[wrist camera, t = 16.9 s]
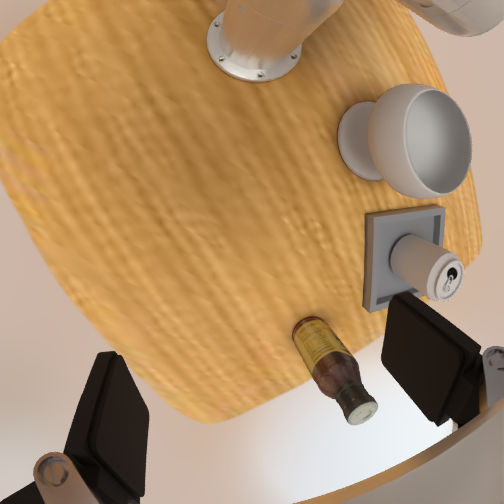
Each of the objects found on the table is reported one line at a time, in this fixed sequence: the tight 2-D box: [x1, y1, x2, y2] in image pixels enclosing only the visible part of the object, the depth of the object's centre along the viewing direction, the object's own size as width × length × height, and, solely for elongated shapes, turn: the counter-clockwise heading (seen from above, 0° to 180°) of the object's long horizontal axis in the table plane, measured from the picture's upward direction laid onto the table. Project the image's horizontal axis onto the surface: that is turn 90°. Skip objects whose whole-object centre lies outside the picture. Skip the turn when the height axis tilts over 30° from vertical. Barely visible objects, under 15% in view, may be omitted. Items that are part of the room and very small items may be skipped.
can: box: [390, 235, 464, 301], centre depth 39 cm, size 8×8×12 cm
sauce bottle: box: [293, 317, 378, 425], centre depth 37 cm, size 7×6×20 cm
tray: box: [362, 205, 445, 313], centre depth 44 cm, size 16×16×2 cm
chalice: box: [338, 84, 472, 199], centre depth 31 cm, size 14×14×15 cm
